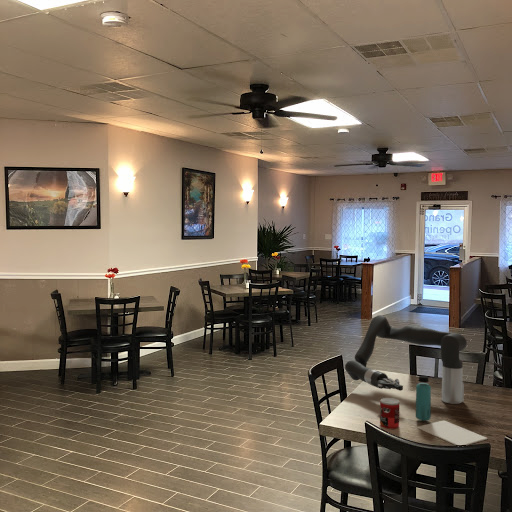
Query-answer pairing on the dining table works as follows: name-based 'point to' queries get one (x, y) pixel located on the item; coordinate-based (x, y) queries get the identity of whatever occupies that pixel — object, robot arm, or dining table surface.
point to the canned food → (389, 413)
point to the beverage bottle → (423, 399)
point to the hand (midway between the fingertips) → (401, 388)
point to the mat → (452, 433)
